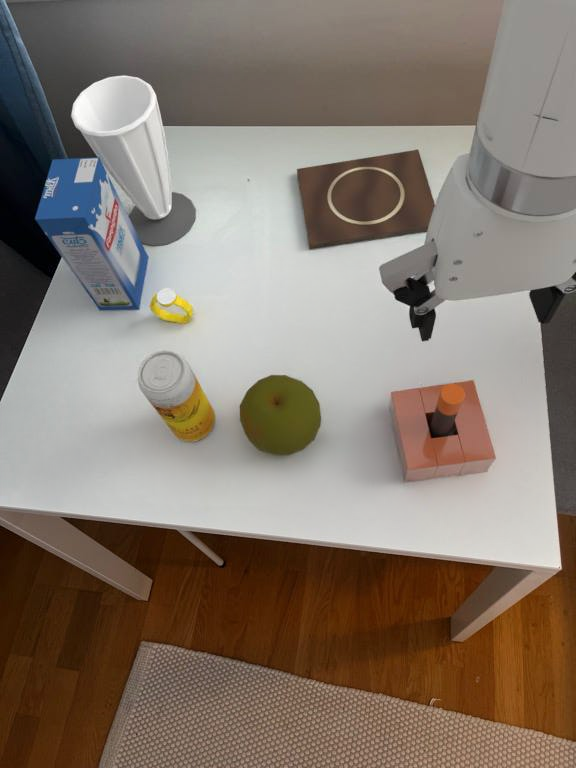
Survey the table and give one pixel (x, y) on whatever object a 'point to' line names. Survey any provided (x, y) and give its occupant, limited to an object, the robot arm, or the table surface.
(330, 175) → the brown flat wooden board
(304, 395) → the apple
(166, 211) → the cup
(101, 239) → the milk carton
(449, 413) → the marker
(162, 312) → the watch
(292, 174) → the table surface
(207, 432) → the beer can
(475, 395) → the holder
